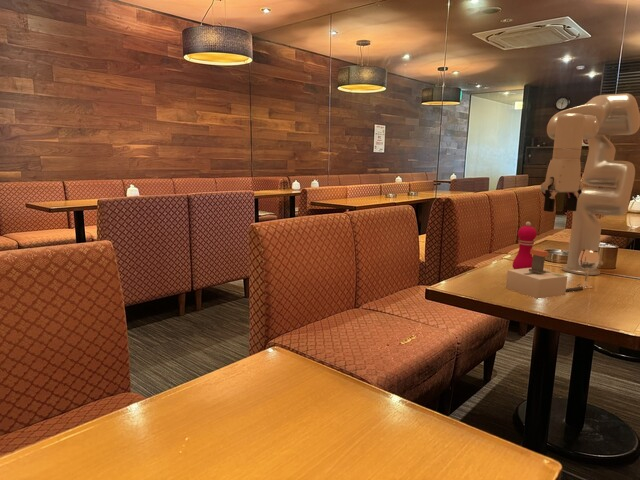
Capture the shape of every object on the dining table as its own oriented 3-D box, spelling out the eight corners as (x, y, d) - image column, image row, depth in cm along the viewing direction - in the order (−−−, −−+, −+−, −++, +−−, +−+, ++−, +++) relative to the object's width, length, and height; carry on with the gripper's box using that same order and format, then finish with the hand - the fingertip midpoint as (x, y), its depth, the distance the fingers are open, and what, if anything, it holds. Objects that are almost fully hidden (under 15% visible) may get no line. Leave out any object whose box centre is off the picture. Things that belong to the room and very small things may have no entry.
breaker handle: (534, 269, 143) (537, 248, 141) (546, 273, 139) (549, 251, 137) (527, 270, 141) (530, 249, 140) (539, 273, 137) (541, 251, 136)
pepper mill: (529, 275, 161) (535, 220, 157) (536, 281, 154) (543, 223, 150) (508, 274, 162) (514, 219, 158) (515, 280, 155) (521, 222, 151)
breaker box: (554, 282, 153) (556, 265, 152) (587, 292, 142) (589, 273, 141) (505, 288, 144) (507, 269, 143) (537, 299, 133) (539, 279, 132)
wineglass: (575, 286, 148) (580, 251, 146) (575, 282, 153) (579, 248, 151) (595, 289, 145) (600, 253, 143) (594, 285, 150) (599, 250, 148)
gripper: (575, 156, 144) (568, 209, 147) (535, 154, 137) (529, 210, 140) (597, 156, 137) (590, 211, 140) (556, 154, 130) (549, 213, 133)
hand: (559, 211), depth 140 cm, fingers open, 9 cm apart
